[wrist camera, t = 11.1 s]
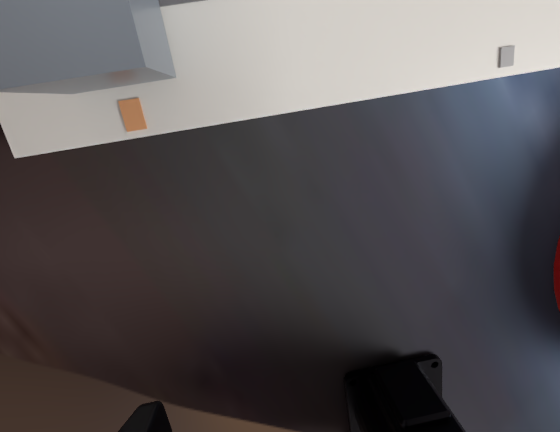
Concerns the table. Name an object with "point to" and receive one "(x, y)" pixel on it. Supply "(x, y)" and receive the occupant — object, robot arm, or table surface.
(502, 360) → the table surface
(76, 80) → the fader tab
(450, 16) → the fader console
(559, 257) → the red round tin
